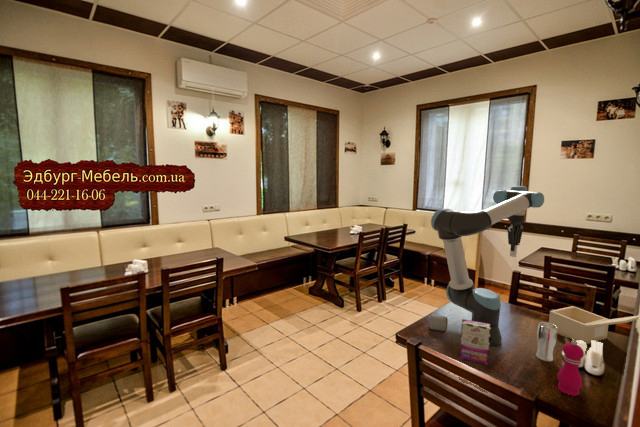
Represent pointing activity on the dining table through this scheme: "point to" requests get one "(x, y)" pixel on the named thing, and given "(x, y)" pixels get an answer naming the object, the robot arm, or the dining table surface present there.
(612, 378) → the dining table surface
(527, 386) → the dining table surface
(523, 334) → the dining table surface
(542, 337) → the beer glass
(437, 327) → the grey rounded block
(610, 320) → the carton lid
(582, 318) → the carton
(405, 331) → the dining table surface
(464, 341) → the candy bar box
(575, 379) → the pepper mill
